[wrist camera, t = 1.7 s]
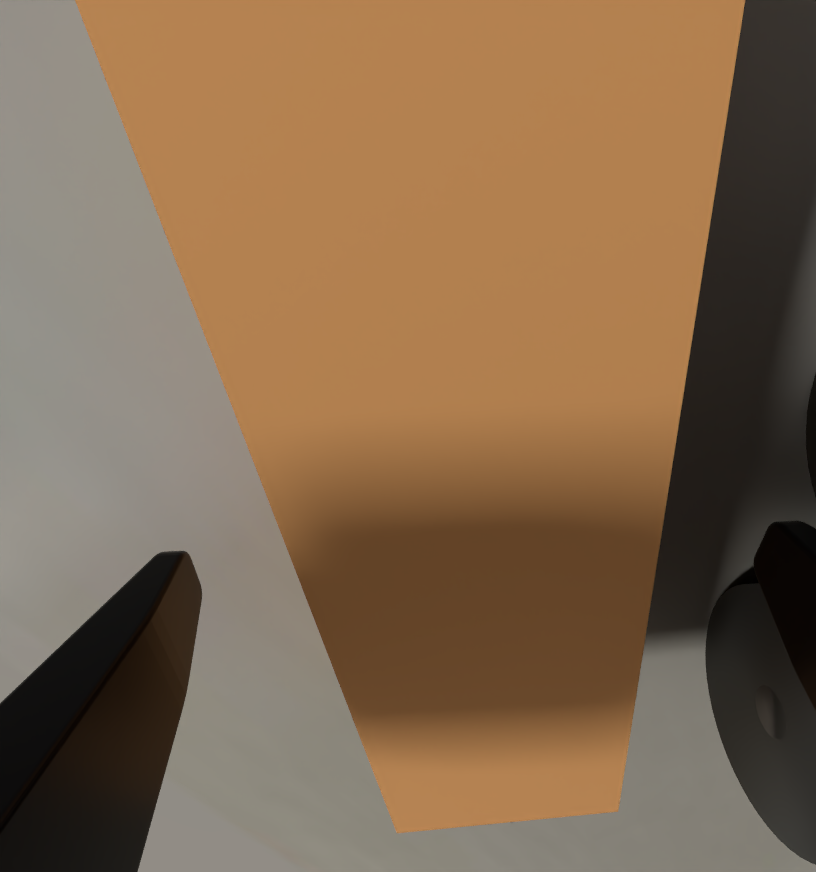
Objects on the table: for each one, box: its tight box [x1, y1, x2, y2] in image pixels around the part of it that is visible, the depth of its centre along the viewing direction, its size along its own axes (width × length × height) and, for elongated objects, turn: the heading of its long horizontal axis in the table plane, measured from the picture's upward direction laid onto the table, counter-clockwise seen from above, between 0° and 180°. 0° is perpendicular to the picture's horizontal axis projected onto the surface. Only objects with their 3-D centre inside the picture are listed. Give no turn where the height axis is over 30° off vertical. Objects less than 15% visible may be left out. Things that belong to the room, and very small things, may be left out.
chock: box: [75, 0, 745, 833], centre depth 10 cm, size 5×16×5 cm, turn 8°
